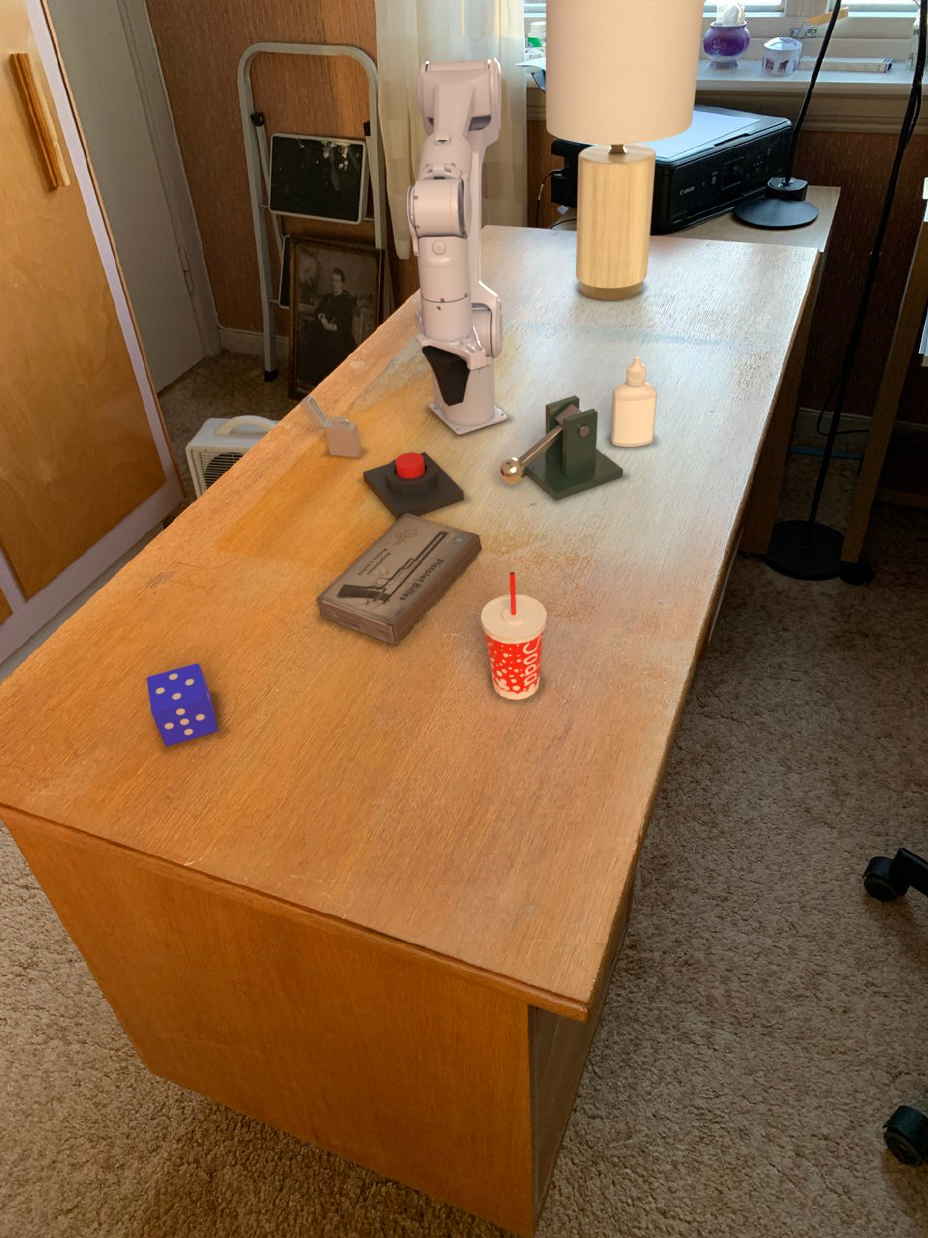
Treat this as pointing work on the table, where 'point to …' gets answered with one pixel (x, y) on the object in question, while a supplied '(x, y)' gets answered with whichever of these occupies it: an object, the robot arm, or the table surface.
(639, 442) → the eye dropper bottle
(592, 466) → the bracket
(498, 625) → the beverage cup
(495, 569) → the table surface
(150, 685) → the die
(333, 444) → the lighter
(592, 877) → the table surface
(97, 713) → the table surface
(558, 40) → the lamp
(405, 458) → the button
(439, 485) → the button box
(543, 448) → the lever
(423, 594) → the box
